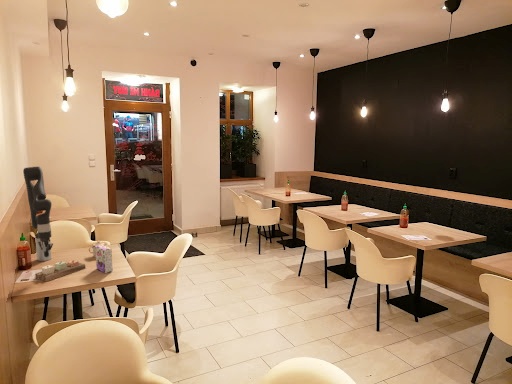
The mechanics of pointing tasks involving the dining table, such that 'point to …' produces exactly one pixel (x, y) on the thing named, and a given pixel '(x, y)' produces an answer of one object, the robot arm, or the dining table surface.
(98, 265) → the candy box
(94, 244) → the teacup with lid
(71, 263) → the key three
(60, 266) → the key two
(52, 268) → the key one
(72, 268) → the key block
